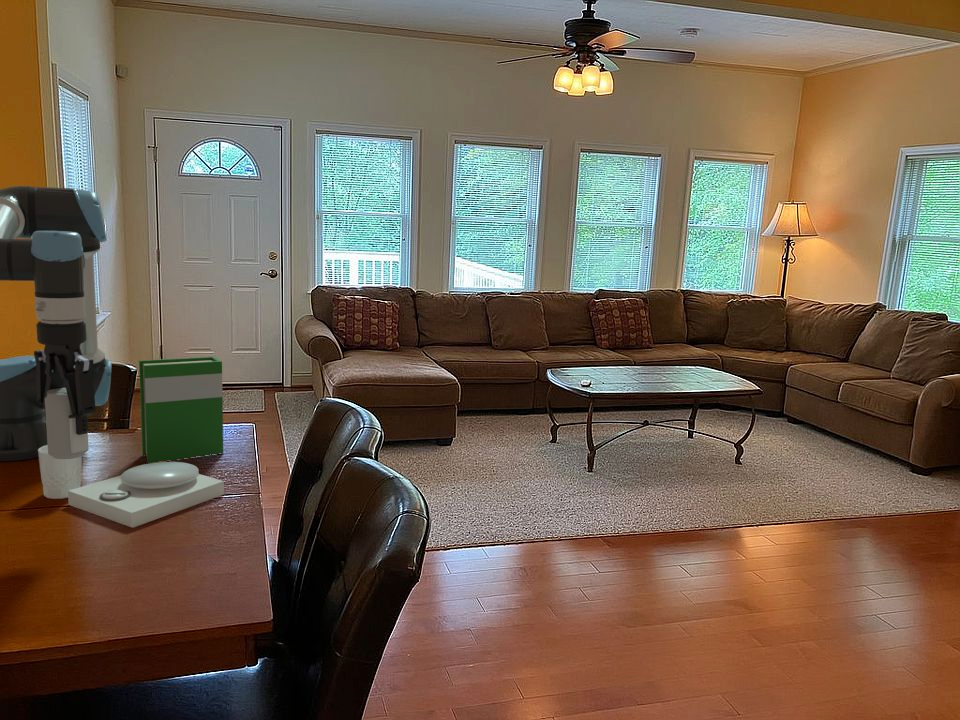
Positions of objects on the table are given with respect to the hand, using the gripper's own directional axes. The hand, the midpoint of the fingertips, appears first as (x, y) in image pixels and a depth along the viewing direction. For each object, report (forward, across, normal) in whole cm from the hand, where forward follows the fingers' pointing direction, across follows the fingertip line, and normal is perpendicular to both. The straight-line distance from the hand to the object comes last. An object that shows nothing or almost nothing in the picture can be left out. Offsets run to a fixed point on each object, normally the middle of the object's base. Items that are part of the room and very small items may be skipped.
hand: (67, 447), depth 131 cm
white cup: (+17, -21, +11) cm, 29 cm away
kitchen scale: (+17, -4, +19) cm, 25 cm away
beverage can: (+2, 0, 0) cm, 2 cm away
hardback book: (+17, -23, +43) cm, 51 cm away
